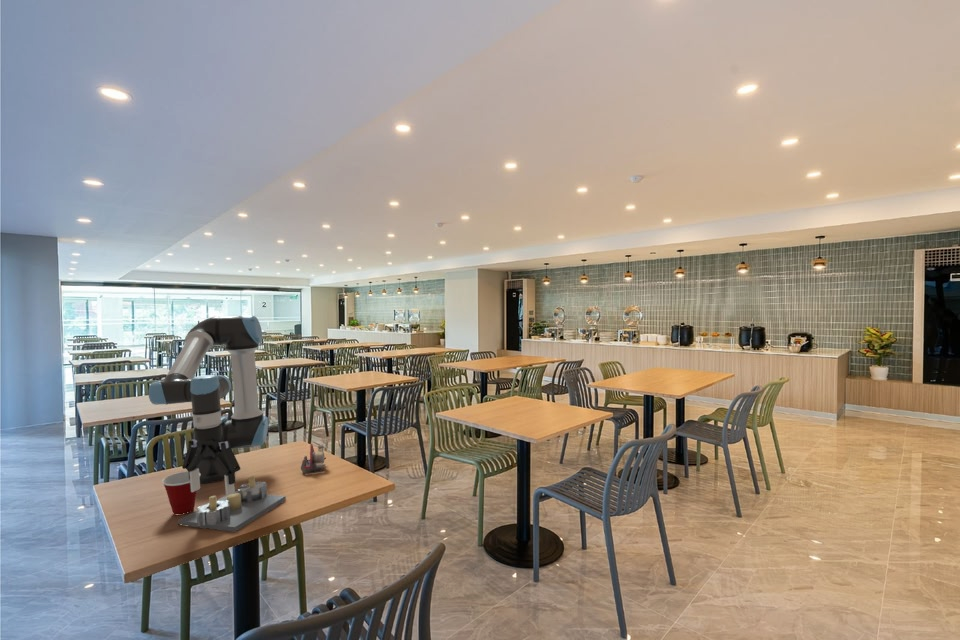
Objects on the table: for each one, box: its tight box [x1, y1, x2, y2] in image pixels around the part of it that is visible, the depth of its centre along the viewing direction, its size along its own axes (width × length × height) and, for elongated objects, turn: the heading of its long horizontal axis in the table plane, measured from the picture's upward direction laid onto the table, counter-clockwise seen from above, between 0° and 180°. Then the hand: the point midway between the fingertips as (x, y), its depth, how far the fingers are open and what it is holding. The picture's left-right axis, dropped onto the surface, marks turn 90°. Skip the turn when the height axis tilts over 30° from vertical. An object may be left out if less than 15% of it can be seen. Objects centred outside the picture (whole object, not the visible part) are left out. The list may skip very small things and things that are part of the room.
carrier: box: [177, 475, 287, 533], centre depth 148 cm, size 22×22×8 cm
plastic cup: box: [161, 470, 201, 515], centre depth 150 cm, size 11×11×12 cm
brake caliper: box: [300, 442, 327, 476], centre depth 185 cm, size 11×11×12 cm
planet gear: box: [196, 500, 230, 526], centre depth 140 cm, size 9×9×4 cm
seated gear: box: [237, 480, 268, 503], centre depth 156 cm, size 9×8×4 cm
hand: (212, 492), depth 141 cm, fingers open, 13 cm apart
